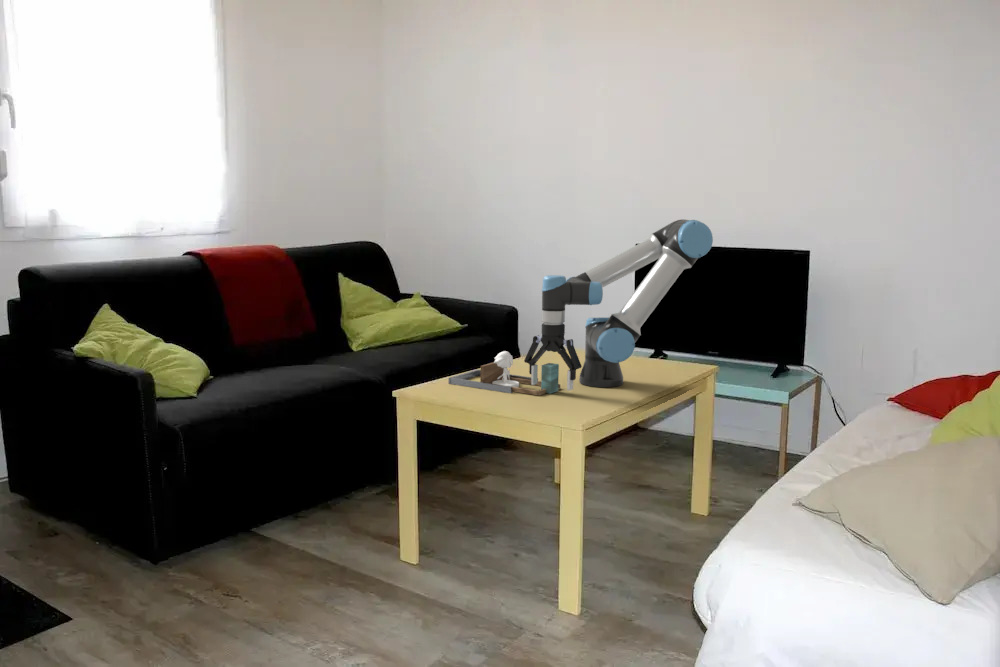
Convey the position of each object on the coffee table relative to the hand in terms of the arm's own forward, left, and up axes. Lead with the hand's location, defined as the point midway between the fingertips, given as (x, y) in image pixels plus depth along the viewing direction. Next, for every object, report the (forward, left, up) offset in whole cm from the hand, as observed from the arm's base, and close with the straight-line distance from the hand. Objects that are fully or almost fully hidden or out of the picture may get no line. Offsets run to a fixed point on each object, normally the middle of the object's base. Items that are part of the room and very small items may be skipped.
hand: (552, 387), depth 285 cm
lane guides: (+23, 0, -2) cm, 24 cm away
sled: (+11, 0, -2) cm, 12 cm away
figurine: (+18, 0, -2) cm, 18 cm away
